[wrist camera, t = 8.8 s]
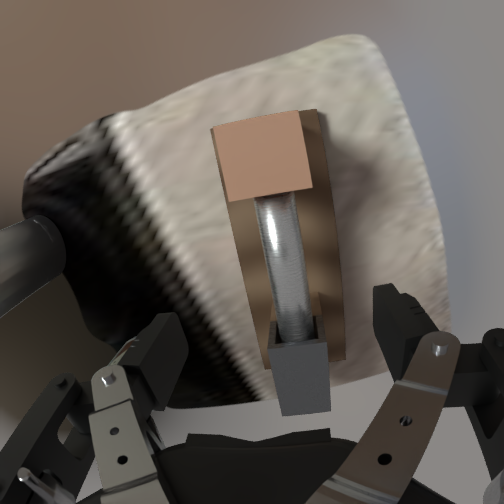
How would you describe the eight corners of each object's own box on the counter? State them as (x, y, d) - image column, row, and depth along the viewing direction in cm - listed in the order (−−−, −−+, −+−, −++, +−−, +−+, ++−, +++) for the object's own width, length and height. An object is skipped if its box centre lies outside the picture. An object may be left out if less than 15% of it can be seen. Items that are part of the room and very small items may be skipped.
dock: (344, 353, 34) (351, 384, 29) (265, 363, 36) (261, 395, 30) (315, 110, 25) (322, 101, 20) (213, 129, 27) (196, 125, 22)
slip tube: (315, 339, 27) (317, 359, 24) (283, 343, 27) (282, 364, 24) (286, 152, 21) (286, 152, 18) (247, 159, 22) (242, 160, 19)
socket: (304, 175, 26) (312, 187, 18) (246, 184, 27) (229, 202, 19) (293, 122, 25) (298, 109, 16) (236, 133, 26) (212, 126, 17)
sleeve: (327, 382, 29) (330, 411, 25) (283, 387, 30) (282, 416, 26) (322, 314, 26) (326, 341, 22) (270, 321, 27) (267, 349, 23)
